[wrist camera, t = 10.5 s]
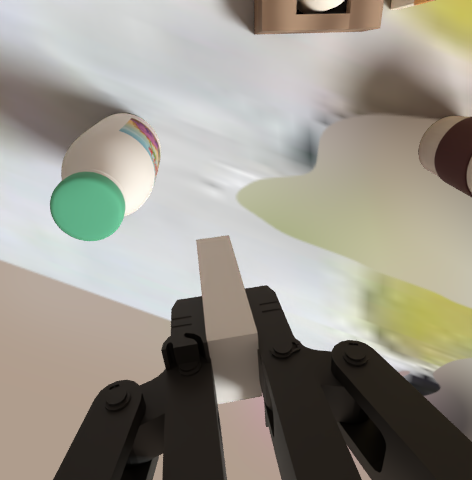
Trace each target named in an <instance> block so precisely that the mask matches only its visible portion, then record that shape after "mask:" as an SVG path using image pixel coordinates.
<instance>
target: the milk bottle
mask: <svg viewBox="0 0 472 480" xmlns="http://www.w3.org/2000/svg"><path fill="white" fill-rule="evenodd" d="M160 157H161V145H160V141H159V138H158V136H157V134H156V132H155V131H154V129H153V128H152V127H151V126H150V125H149V124H148V123H147V122H146V121H144V120H143V119H141V118H140V117H137V116H135V115H132V114H126V113H119V114H114V115H111V116H108V117H106V118H104V119H103V120H101V121H100V122H98V123H97V124H95V125H94V126H93V127H91V128H90V129H88V130H87V131H86V132H85V133H83V134H82V135H81V136H80V137H79V138H77V139H76V140H75V141H74V142H73V143H72V145H71V146H70V147H69V149H68V151H67V152H66V154H65V157H64V160H63V163H62V170H61V177H62V181H61V182H60V183H59V184H58V186H57V187H56V188H55V189H54V191H53V193H52V196H51V200H50V210H51V214H52V217H53V219H54V221H55V223H56V224H57V225H58V227H59V228H60V229H61V230H62V231H64V232H65V233H66V234H68V235H70V236H71V237H74V238H76V239H79V240H84V241H97V240H101V239H104V238H106V237H108V236H110V235H111V234H113V233H114V232H115V231H116V230H117V229H118V228H119V226H120V224H121V222H122V220H123V218H124V217H125V216H128V215H130V214H132V213H133V212H135V211H136V210H137V209H139V208H140V207H141V206H142V205H143V204H144V203H145V201H146V200H147V199H148V197H149V195H150V194H151V191H152V189H153V186H154V183H155V179H156V175H157V171H158V167H159V162H160Z"/></svg>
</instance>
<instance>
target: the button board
mask: <svg viewBox="0 0 472 480" xmlns="http://www.w3.org/2000/svg"><path fill="white" fill-rule="evenodd" d="M383 2H384V0H347V7H346V14H296V5H297V0H254V34H287V33H327V32H362V31H368V30H373V29H379V28H380V25H381V17H382V10H383Z"/></svg>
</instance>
